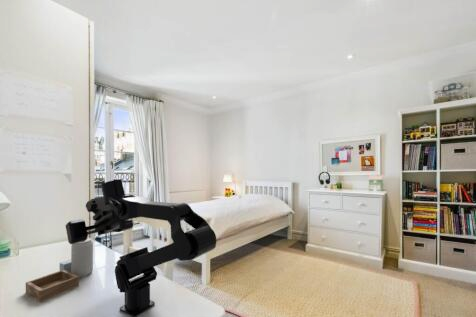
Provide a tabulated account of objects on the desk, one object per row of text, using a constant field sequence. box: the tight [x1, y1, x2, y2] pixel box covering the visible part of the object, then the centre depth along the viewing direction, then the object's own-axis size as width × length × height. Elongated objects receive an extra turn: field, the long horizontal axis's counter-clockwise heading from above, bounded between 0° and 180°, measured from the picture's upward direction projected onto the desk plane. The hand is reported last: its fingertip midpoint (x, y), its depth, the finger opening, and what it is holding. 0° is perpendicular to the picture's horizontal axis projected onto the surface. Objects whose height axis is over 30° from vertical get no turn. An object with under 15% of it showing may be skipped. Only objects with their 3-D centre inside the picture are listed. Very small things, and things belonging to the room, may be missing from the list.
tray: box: [25, 270, 80, 303], centre depth 73 cm, size 10×10×3 cm
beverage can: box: [70, 237, 94, 278], centre depth 84 cm, size 6×6×12 cm
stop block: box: [59, 258, 71, 273], centre depth 86 cm, size 3×8×4 cm, turn 150°
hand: (90, 233), depth 78 cm, fingers open, 9 cm apart
